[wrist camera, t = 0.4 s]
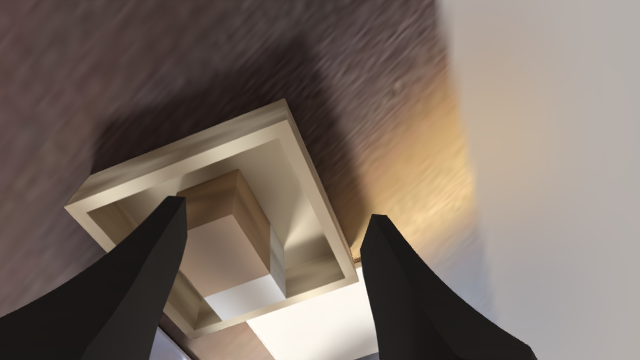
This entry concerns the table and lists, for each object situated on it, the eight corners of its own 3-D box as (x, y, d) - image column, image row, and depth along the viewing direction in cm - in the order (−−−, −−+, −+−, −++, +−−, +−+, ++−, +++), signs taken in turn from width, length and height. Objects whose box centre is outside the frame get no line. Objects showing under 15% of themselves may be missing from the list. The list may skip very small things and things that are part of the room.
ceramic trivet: (291, 374, 37) (291, 380, 37) (237, 304, 31) (237, 310, 31) (401, 338, 36) (403, 343, 36) (369, 258, 30) (371, 263, 30)
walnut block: (229, 266, 28) (222, 321, 24) (177, 192, 24) (157, 242, 20) (283, 246, 28) (286, 299, 23) (238, 168, 24) (232, 214, 20)
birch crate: (198, 302, 31) (190, 340, 28) (89, 175, 23) (63, 207, 20) (350, 249, 29) (359, 281, 26) (284, 98, 22) (286, 119, 19)
